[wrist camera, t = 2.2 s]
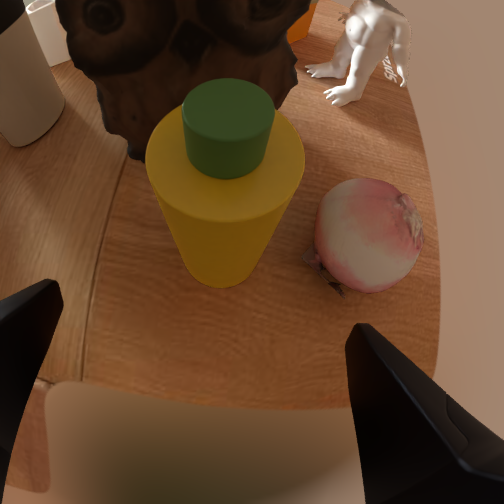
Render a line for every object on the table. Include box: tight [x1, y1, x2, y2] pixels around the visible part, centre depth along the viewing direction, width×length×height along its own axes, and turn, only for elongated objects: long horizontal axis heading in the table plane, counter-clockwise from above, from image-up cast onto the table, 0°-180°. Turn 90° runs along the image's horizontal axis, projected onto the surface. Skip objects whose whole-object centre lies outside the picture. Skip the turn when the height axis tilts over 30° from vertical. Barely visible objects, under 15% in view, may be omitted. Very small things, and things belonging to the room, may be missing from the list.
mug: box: [26, 0, 71, 67], centre depth 21 cm, size 12×9×10 cm
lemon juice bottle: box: [145, 78, 305, 288], centre depth 14 cm, size 5×5×14 cm
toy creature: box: [304, 0, 412, 107], centre depth 22 cm, size 12×6×12 cm, turn 20°
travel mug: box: [0, 0, 65, 147], centre depth 14 cm, size 8×8×18 cm
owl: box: [55, 0, 312, 163], centre depth 14 cm, size 13×13×20 cm
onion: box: [302, 178, 424, 299], centre depth 18 cm, size 8×8×7 cm
